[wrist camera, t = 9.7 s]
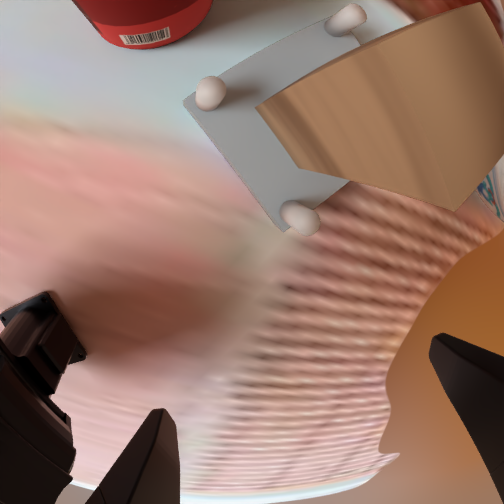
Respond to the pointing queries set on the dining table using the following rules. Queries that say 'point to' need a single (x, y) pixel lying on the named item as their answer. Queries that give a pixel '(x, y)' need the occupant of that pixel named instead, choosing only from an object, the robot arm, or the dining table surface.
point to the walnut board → (403, 110)
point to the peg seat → (258, 132)
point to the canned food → (143, 20)
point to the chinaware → (494, 189)
